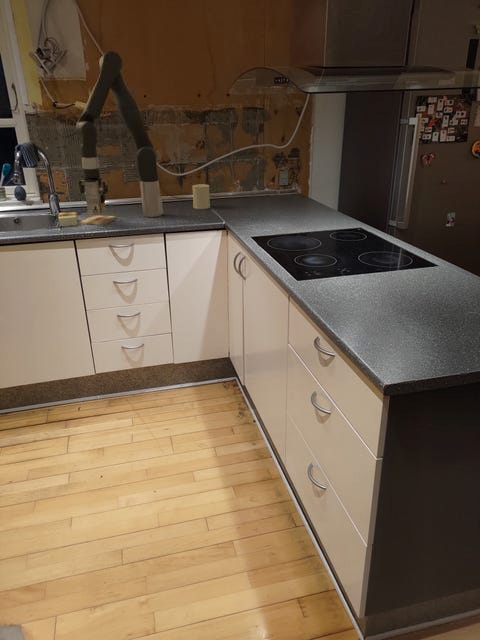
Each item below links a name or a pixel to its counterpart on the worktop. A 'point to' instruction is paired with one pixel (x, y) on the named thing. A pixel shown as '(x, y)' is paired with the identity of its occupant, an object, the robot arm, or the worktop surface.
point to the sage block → (68, 220)
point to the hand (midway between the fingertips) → (95, 202)
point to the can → (201, 196)
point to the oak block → (68, 214)
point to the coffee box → (93, 197)
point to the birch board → (98, 220)
